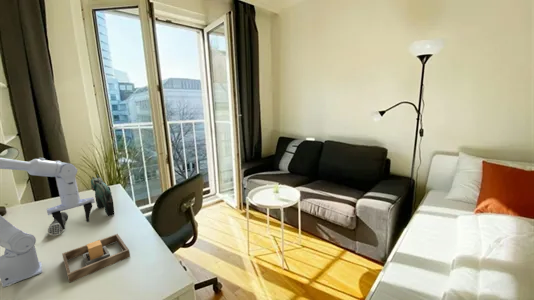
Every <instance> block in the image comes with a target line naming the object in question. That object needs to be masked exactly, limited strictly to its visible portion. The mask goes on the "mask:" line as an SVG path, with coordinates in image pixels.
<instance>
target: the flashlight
mask: <svg viewBox="0 0 534 300" xmlns="http://www.w3.org/2000/svg"><path fill="white" fill-rule="evenodd" d="M60 212H61V216H62V220H63V224H64V226H65V227H66V222H67V221H68V219H69V215H68V213H66V212H64V211H60ZM63 231H64V230H63V229H62V227H61V225H60V224H59V222H58V221H57V220H56V219H54V218H53V220H52V222H51V224H49V226H48V228H47V234H49V235H51V236H58V235H61V234H62V233H63Z"/></svg>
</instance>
